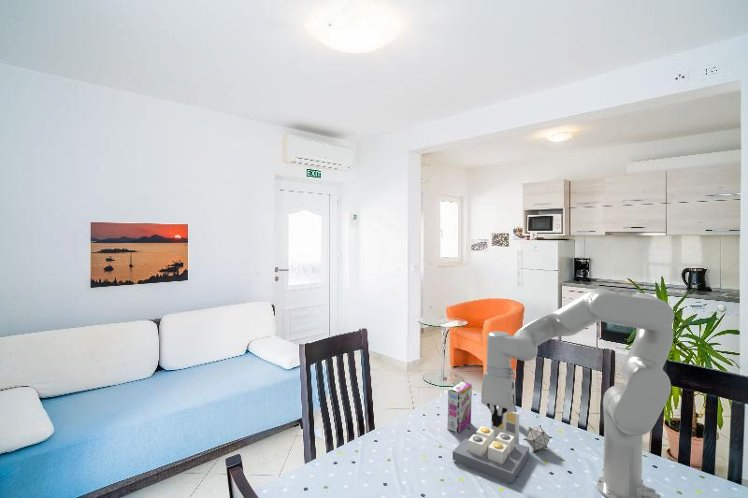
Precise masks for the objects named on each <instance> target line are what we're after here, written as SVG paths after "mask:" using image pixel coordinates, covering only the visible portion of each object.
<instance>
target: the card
mask: <svg viewBox="0 0 748 498" xmlns="http://www.w3.org/2000/svg"><path fill="white" fill-rule="evenodd" d="M498 409H499V406H497V411H498ZM490 426H491V428H490V429H492V430H494V436H495V437H497V436H498V435H499V433H500V432H502V433H505V434H508V435H511V436H514V443H517V444H520V413H519V412H505V413H504V414H503V415H502V424H500V426H499V427H496V426H493V422H492V418H491V425H490Z"/></svg>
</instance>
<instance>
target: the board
mask: <svg viewBox="0 0 748 498" xmlns="http://www.w3.org/2000/svg"><path fill="white" fill-rule="evenodd" d="M477 430H478V429H473V430H472V431H470V433H469V434H468V435H467V436H466V437H465V438H464V439H463V440H462V441H461V442H460V443H459V444H458V445H457V446H456V447H455V448H454V450H452V460H453V461H455V464H458V465H461V466H463V467H466V468H469V469H471V470H474V471H476V472H479V473H481V474H483V475H487V476H489V477H492V478H493V479H494V478H495V479H496V480H499V481H502V482H505V483H506V484H513V482H514V481H515V479H516V478H517V477H518V475H519V473H520V471H521V470H522V469H523V466H524V465H525V464H526V461H528V460H527V459H529V456H530V447H529V446H526V445H524V444H523V445H522V444H520V443H519V444H517V443H514V451H513V452H512V454H511V455H509V454H508V459H507V461H506V462H505V464H504V465H502V464H499V463H496V462H494V461H491V460H488V447H487V452H486V453H485V455H484V456H483V457H480V456H477V455H475V454H472V453H469V452H468V440H469V438H470V437H471V436H472V435H473V434H475V435H476V431H477ZM494 441H496V437H495V436H494Z"/></svg>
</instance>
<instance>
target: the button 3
mask: <svg viewBox="0 0 748 498" xmlns="http://www.w3.org/2000/svg"><path fill="white" fill-rule="evenodd" d="M496 442H499V443H502V444H505V445H508V454H509V455H511V454H512V452H513V451H514V436H511V435H508V434H505V433H502V432H500V433H499V435H498V436H497V437H496Z"/></svg>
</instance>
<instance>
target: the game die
mask: <svg viewBox="0 0 748 498" xmlns="http://www.w3.org/2000/svg"><path fill="white" fill-rule="evenodd" d="M527 431H528V433H527V435H526V438H523V441H526V442H527V443H528V445H530V446H531V448H532V449H533V450H534V451H533V453H534V454H536V451H540V450H544V451H548V450H547V449H549V447H548V444H549V441H550V439H553V436H549V435H548V433H547V432H546V431H545V430H544V429H543V428H542V424H540V425H539V426H537V427H533V428H532V427H531V426H528V429H527Z"/></svg>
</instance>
